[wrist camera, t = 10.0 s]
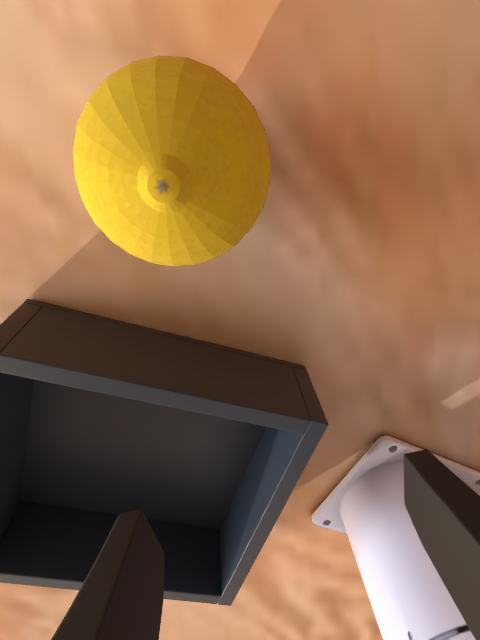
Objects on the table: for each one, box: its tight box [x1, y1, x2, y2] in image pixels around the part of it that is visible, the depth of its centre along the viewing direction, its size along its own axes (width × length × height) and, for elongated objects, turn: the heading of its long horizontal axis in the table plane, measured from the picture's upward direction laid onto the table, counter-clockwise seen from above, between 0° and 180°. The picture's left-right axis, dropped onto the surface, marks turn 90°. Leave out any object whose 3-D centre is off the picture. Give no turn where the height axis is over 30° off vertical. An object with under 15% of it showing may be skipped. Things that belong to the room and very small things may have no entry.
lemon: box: [73, 56, 270, 266], centre depth 11 cm, size 6×6×8 cm
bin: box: [0, 299, 328, 606], centre depth 19 cm, size 14×14×4 cm
